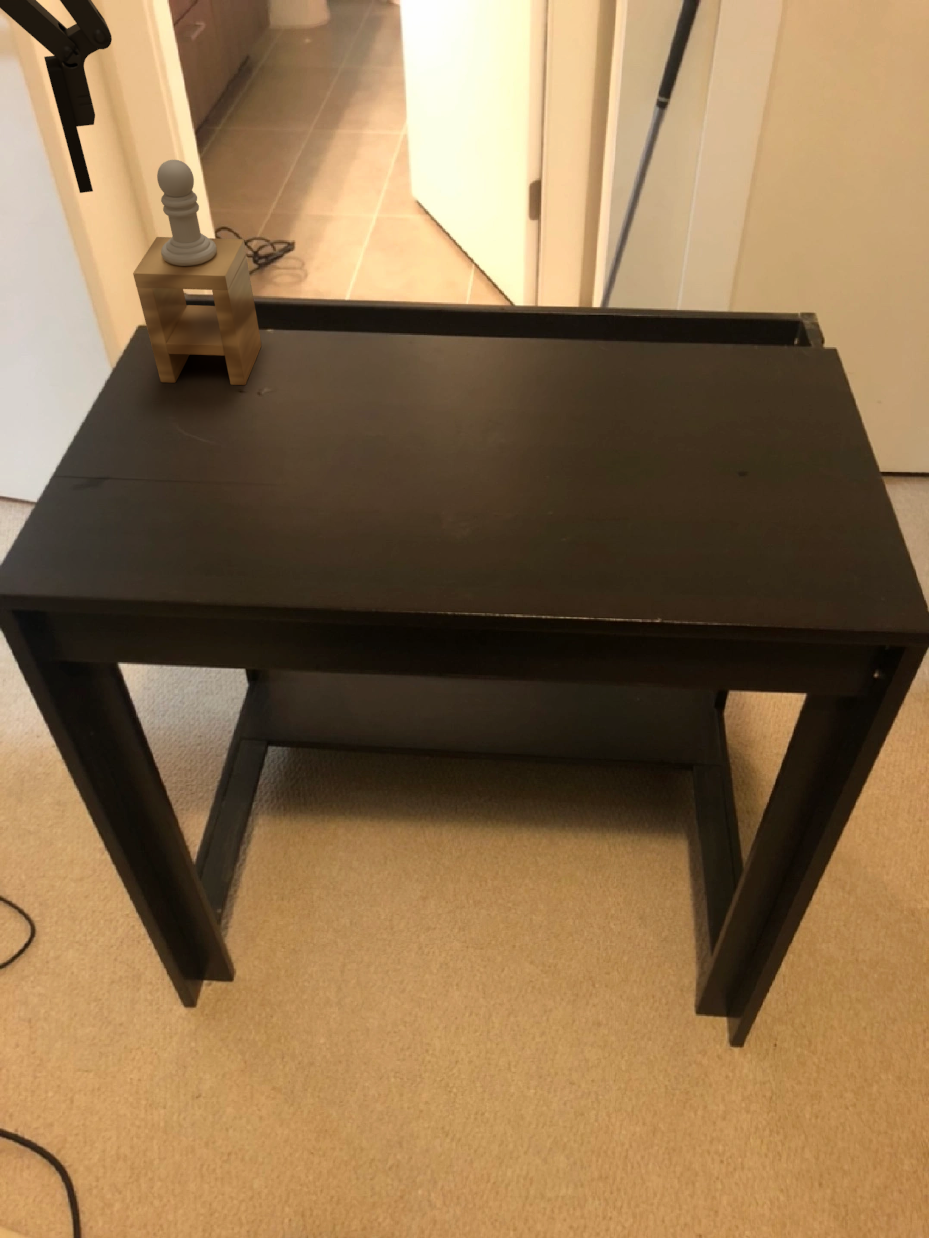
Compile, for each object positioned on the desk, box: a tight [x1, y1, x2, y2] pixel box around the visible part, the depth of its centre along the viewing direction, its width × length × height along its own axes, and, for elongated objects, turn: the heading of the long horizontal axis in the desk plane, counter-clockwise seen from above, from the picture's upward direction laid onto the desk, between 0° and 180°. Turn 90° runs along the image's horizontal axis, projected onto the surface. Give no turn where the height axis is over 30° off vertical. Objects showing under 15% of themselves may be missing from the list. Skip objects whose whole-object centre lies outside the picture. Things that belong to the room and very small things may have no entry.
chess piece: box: [156, 159, 217, 266], centre depth 93 cm, size 5×5×9 cm
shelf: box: [132, 236, 262, 386], centre depth 101 cm, size 9×8×12 cm
